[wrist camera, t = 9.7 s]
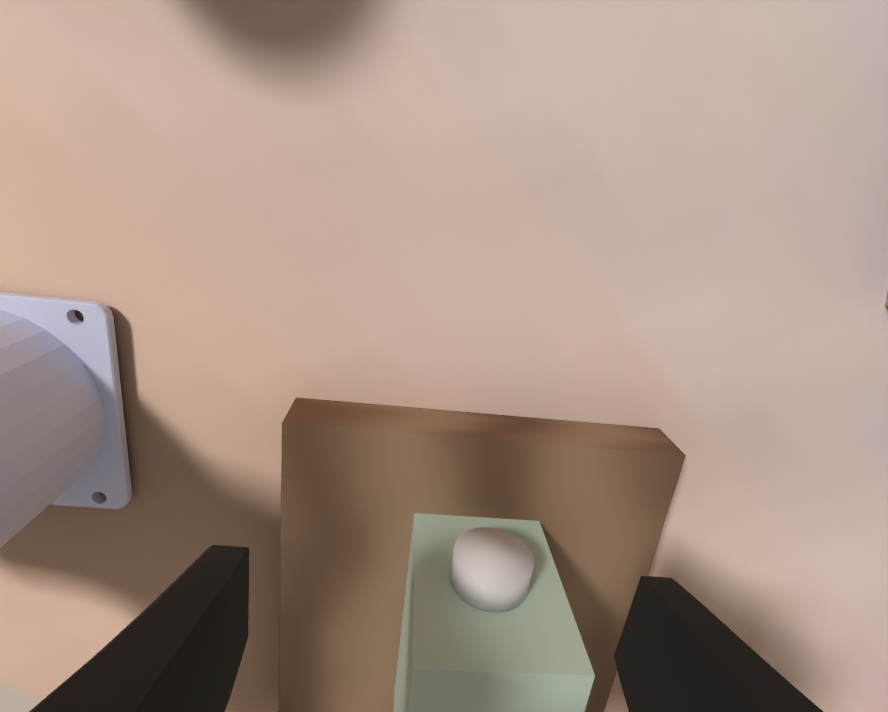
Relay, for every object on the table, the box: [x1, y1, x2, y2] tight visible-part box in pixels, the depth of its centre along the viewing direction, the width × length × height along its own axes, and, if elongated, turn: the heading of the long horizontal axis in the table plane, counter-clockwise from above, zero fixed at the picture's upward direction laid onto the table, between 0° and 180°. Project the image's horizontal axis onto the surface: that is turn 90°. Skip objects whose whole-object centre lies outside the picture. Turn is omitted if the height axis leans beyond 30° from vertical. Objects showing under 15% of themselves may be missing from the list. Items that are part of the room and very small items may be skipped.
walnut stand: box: [279, 398, 686, 712], centre depth 20 cm, size 14×16×2 cm
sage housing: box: [393, 513, 595, 712], centre depth 16 cm, size 5×10×6 cm, turn 173°
